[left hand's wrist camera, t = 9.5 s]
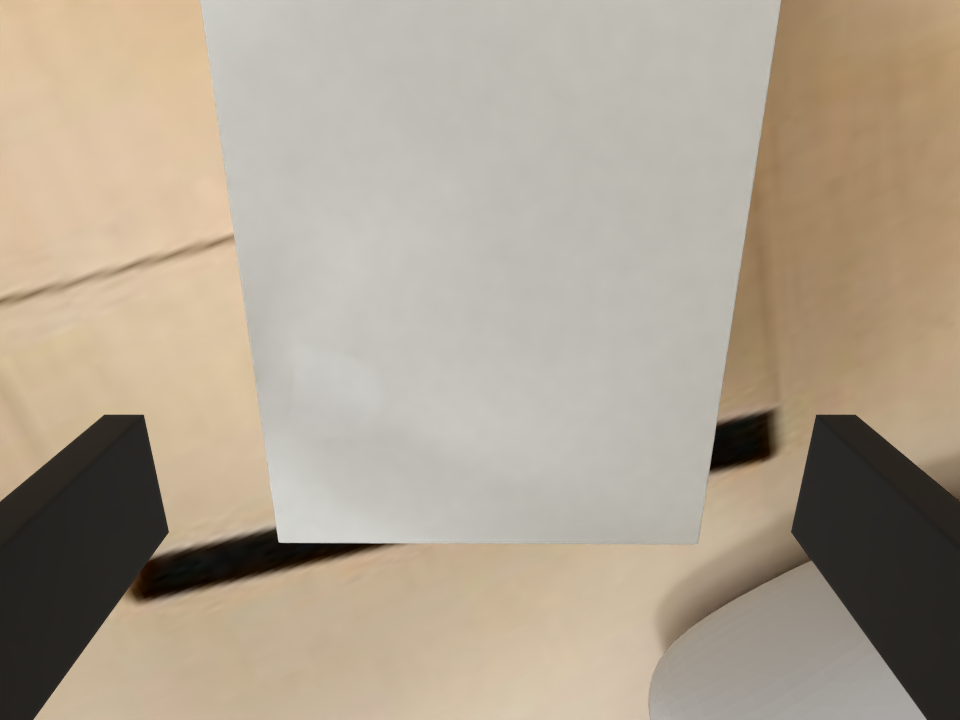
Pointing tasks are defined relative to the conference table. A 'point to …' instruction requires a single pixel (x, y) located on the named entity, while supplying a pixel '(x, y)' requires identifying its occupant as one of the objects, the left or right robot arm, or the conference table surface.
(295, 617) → the conference table surface
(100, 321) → the conference table surface
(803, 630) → the projector
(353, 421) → the cabinet
